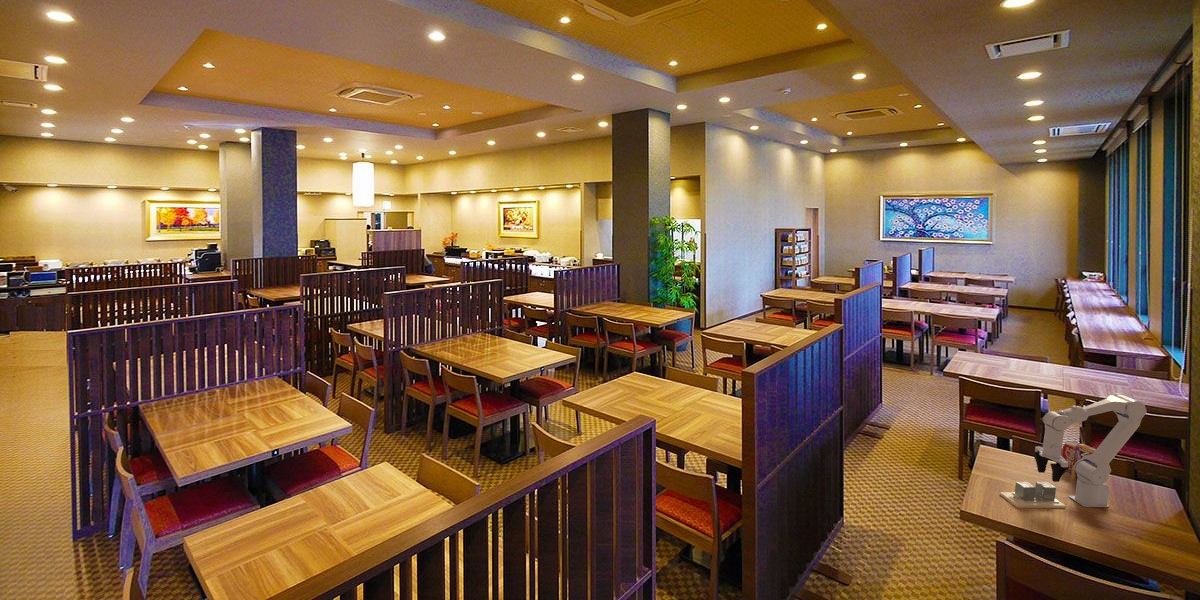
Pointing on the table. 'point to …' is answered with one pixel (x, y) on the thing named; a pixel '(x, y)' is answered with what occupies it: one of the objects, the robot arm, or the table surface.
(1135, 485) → the table surface
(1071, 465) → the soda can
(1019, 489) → the block
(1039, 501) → the white flat slab
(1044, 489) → the spacer
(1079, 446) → the candy box
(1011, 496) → the scale base
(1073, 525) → the table surface
